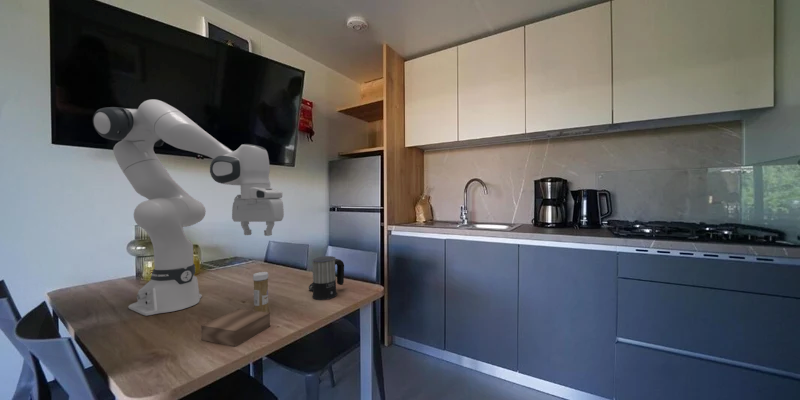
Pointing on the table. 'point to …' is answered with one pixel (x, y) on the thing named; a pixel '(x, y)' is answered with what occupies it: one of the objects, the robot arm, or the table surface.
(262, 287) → the sprinkles bottle
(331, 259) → the milk frother
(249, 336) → the walnut pedestal
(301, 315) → the table surface
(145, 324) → the table surface
